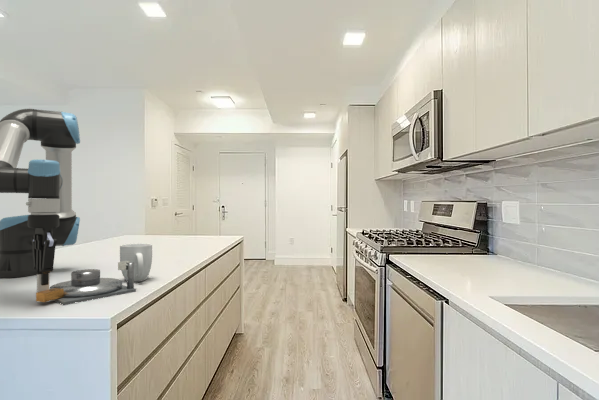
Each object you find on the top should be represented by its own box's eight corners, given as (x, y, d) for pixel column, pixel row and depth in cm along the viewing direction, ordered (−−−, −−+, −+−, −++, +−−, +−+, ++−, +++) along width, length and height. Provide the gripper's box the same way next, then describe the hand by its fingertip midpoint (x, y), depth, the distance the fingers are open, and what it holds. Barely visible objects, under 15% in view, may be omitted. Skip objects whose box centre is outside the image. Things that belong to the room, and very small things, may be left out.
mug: (157, 283, 133) (157, 246, 133) (123, 286, 127) (124, 248, 127) (148, 276, 146) (148, 242, 146) (117, 279, 140) (117, 244, 140)
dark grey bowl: (65, 285, 117) (65, 273, 117) (85, 280, 124) (85, 268, 124) (86, 287, 115) (86, 274, 115) (105, 282, 123) (105, 269, 123)
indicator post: (113, 290, 121) (114, 261, 121) (127, 288, 125) (128, 260, 125) (120, 293, 119) (121, 263, 119) (135, 290, 122) (135, 261, 122)
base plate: (37, 293, 117) (37, 290, 117) (105, 282, 134) (105, 280, 134) (63, 305, 104) (63, 302, 104) (135, 291, 121) (135, 288, 121)
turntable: (12, 298, 106) (13, 290, 106) (87, 280, 131) (87, 273, 131) (69, 304, 101) (69, 295, 101) (135, 284, 126) (135, 277, 126)
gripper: (20, 213, 109) (20, 294, 109) (36, 214, 100) (35, 302, 100) (50, 212, 114) (49, 290, 114) (67, 214, 106) (66, 297, 106)
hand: (43, 295), depth 107 cm, fingers closed
